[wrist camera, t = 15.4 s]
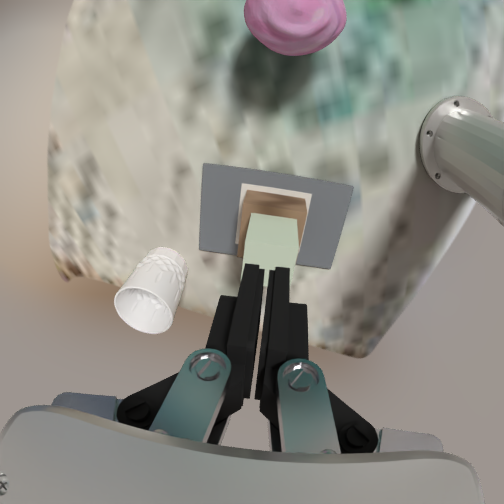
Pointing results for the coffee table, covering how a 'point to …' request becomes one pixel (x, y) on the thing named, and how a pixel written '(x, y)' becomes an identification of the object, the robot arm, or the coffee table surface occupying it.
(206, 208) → the mat
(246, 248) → the sage cube
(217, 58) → the coffee table surface
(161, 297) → the white cup
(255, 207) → the walnut base block
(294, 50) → the cupcake
